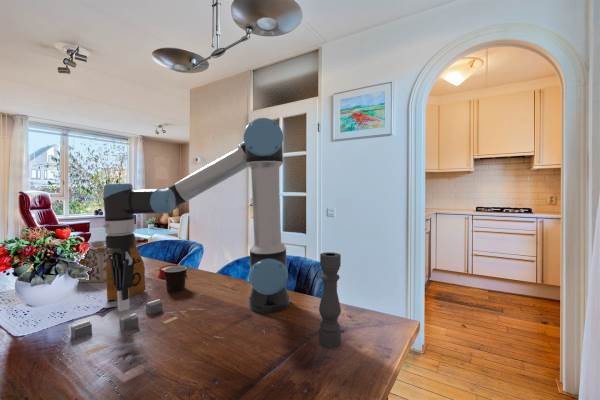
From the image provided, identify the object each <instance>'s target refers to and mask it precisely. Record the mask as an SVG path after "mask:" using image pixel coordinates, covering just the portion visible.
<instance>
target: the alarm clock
mask: <svg viewBox="0 0 600 400" xmlns="http://www.w3.org/2000/svg"><path fill="white" fill-rule="evenodd" d="M174 266H179V264H177V265H176V264H172V265H171V264H170V265H164V266H161V267H160V268H159V269H158V272H159V273H158V275H157V277H158V278H159V279H165V274H164V269H166V268H169V267H174ZM155 271H157V269H155Z"/></svg>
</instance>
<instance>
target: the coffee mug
mask: <svg viewBox="0 0 600 400" xmlns="http://www.w3.org/2000/svg"><path fill="white" fill-rule="evenodd" d="M187 271H188V268H187V266H183V265H178V266H174V267H169V268H166V269H164V274H165V278H164V280H165V286H166V292H167V293H180V292H182V291H184V290H185V289H186V279H187Z"/></svg>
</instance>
